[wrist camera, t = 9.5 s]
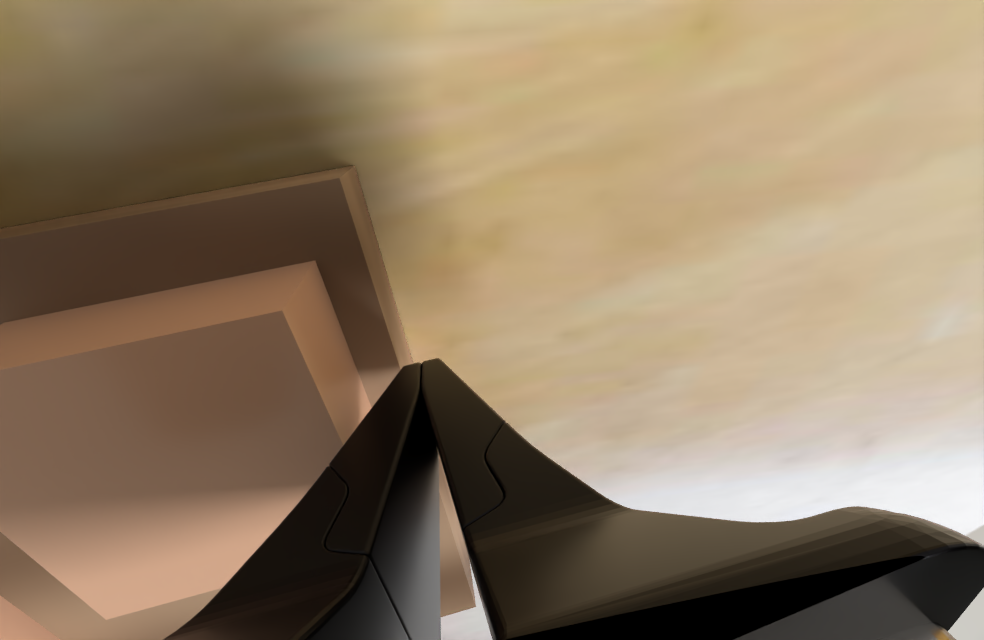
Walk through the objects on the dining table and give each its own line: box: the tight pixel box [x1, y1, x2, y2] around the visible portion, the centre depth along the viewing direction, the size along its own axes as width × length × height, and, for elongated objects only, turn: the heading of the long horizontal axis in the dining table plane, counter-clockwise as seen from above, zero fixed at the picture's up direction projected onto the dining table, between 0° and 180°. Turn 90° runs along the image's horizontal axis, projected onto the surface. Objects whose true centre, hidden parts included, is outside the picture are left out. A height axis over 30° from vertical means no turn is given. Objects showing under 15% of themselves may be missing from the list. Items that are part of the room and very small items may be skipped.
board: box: [0, 165, 476, 640], centre depth 12 cm, size 16×12×2 cm
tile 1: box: [0, 261, 371, 620], centre depth 8 cm, size 6×6×2 cm
